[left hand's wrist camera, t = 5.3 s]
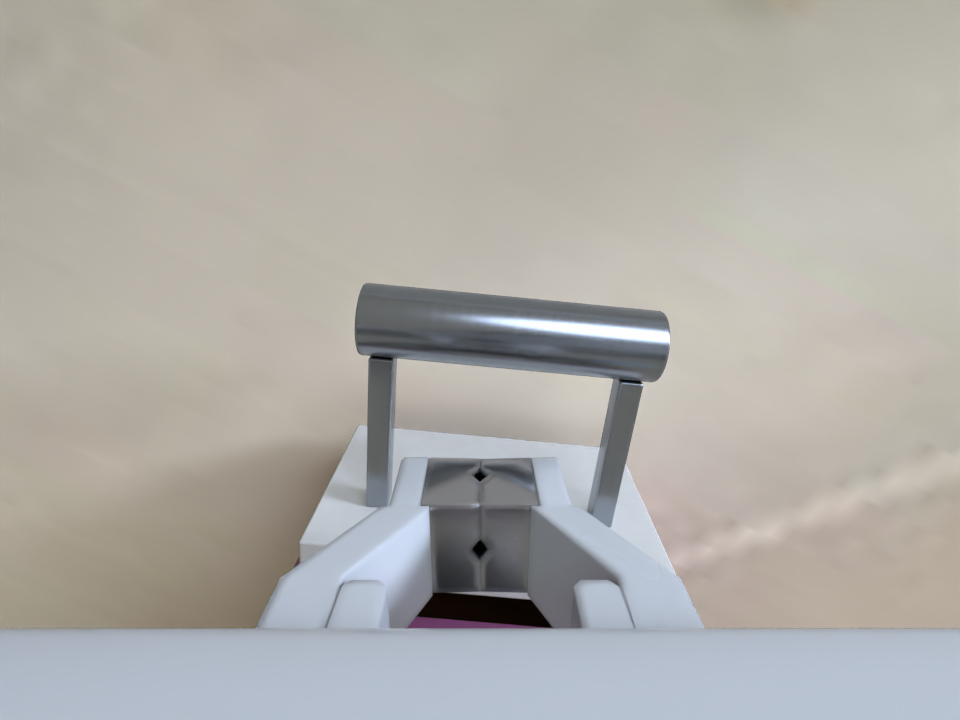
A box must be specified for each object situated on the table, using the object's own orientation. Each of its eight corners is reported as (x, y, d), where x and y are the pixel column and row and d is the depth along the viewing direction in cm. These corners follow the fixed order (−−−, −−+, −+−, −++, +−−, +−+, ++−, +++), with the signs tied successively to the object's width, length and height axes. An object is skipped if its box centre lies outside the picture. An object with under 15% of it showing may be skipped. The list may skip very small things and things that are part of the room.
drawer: (359, 251, 16) (288, 297, 10) (655, 280, 16) (745, 341, 10) (354, 724, 23) (311, 901, 18) (555, 740, 23) (576, 921, 18)
